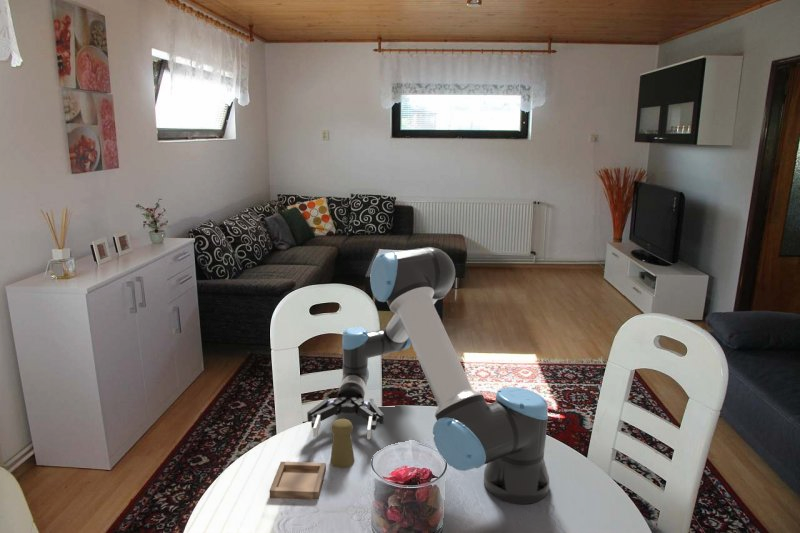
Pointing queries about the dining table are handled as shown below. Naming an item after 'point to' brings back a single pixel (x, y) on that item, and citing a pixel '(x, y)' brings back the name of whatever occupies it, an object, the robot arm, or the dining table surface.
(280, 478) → the tray
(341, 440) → the cork
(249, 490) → the dining table surface
